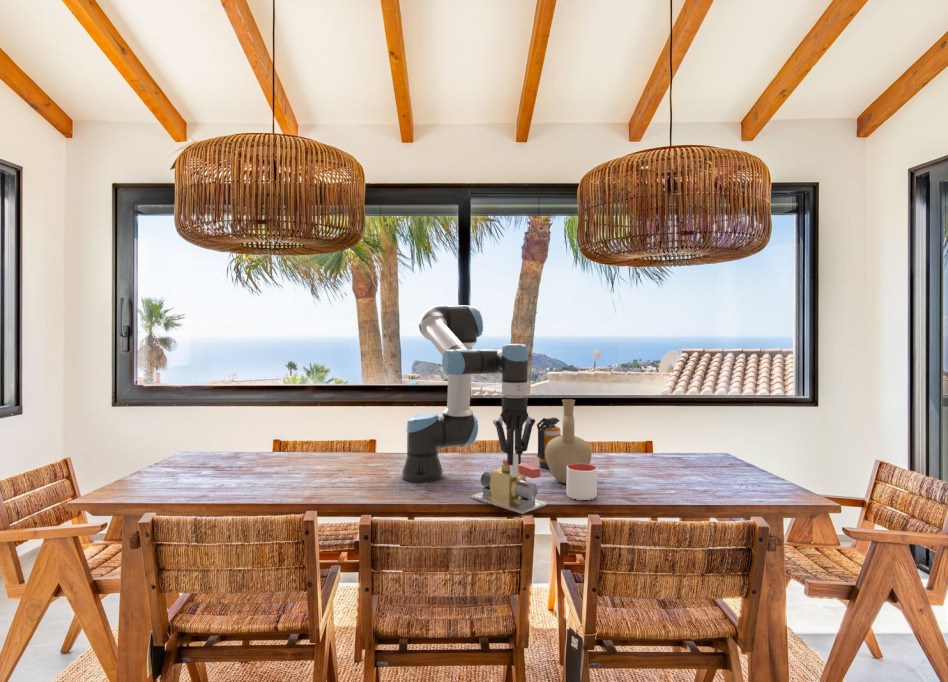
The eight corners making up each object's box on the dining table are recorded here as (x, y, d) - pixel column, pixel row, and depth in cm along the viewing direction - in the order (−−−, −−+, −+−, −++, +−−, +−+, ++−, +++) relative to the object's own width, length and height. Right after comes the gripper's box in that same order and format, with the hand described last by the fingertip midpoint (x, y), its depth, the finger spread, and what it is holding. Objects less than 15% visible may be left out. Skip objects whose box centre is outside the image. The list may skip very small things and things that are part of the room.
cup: (592, 492, 188) (593, 463, 188) (600, 501, 178) (600, 471, 178) (563, 492, 188) (563, 463, 188) (569, 502, 178) (570, 471, 178)
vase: (592, 489, 192) (593, 403, 191) (544, 486, 195) (544, 402, 194) (590, 476, 208) (590, 397, 208) (545, 474, 211) (546, 396, 210)
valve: (471, 497, 182) (471, 467, 182) (495, 490, 190) (495, 461, 190) (522, 513, 166) (522, 481, 166) (546, 505, 175) (546, 473, 174)
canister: (566, 467, 222) (566, 418, 222) (545, 471, 216) (546, 420, 215) (551, 462, 230) (551, 415, 229) (530, 466, 223) (531, 417, 223)
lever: (498, 469, 179) (498, 458, 179) (509, 467, 181) (509, 457, 181) (530, 481, 164) (530, 470, 164) (541, 479, 167) (541, 468, 167)
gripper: (499, 398, 157) (498, 480, 158) (540, 396, 161) (539, 476, 162) (489, 395, 164) (488, 474, 165) (528, 393, 169) (528, 470, 169)
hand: (513, 475), depth 163 cm, fingers closed
